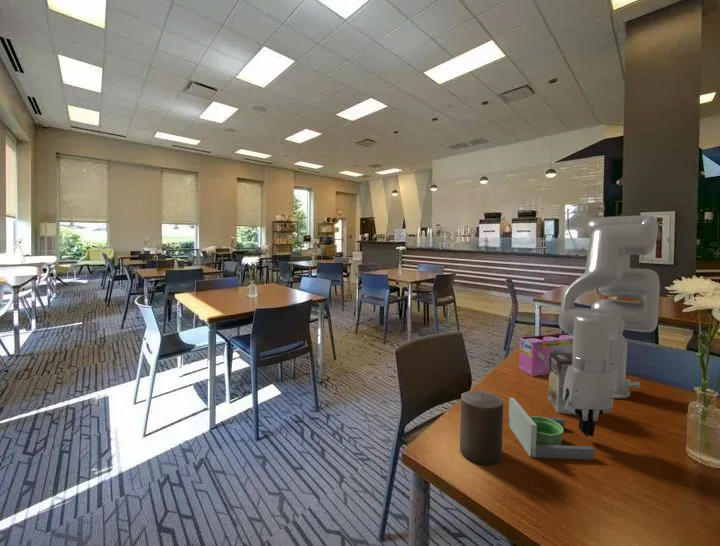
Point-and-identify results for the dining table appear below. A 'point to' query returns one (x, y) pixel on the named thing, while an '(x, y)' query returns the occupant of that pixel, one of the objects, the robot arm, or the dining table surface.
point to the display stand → (527, 437)
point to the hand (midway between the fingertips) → (586, 433)
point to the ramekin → (547, 431)
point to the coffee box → (558, 380)
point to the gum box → (542, 351)
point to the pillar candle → (481, 427)
